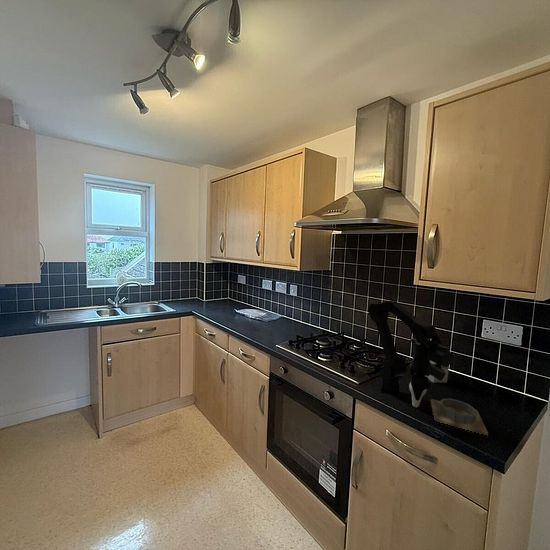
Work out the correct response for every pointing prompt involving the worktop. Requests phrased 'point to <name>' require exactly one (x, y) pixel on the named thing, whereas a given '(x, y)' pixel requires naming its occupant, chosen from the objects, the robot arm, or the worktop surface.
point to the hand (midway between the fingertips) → (416, 394)
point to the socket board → (458, 415)
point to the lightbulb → (414, 401)
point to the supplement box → (436, 378)
